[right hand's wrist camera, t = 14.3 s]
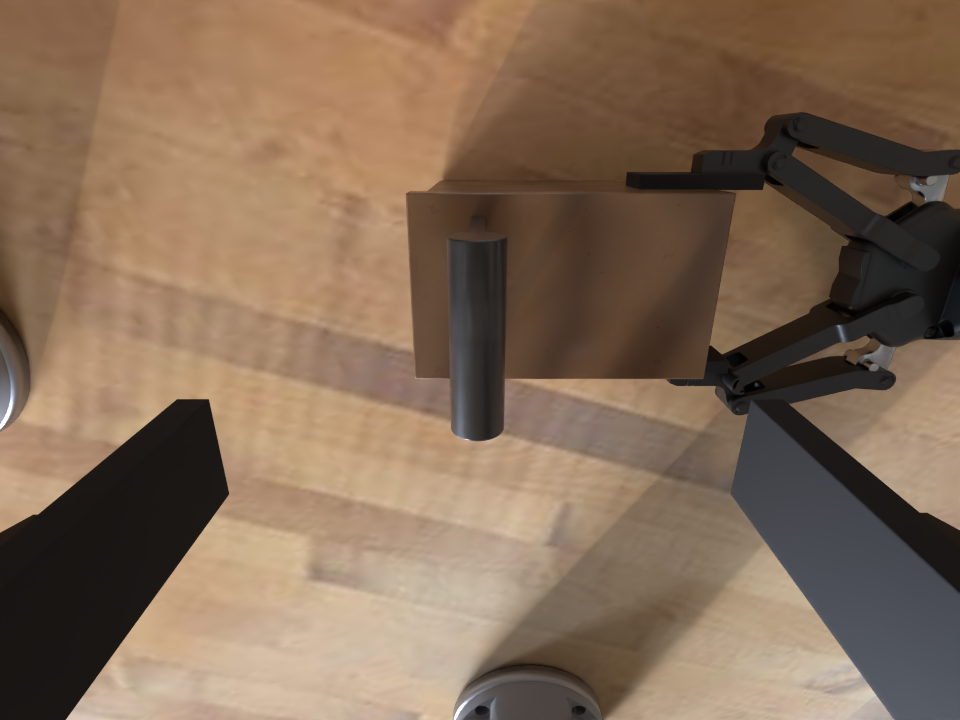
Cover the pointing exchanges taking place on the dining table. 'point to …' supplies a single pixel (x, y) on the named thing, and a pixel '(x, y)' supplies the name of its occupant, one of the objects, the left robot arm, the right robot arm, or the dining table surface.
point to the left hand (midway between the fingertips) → (622, 275)
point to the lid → (560, 289)
